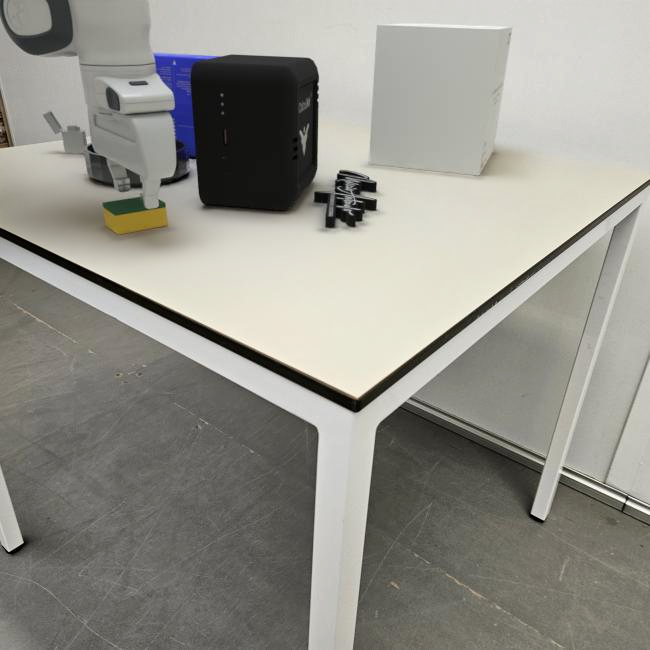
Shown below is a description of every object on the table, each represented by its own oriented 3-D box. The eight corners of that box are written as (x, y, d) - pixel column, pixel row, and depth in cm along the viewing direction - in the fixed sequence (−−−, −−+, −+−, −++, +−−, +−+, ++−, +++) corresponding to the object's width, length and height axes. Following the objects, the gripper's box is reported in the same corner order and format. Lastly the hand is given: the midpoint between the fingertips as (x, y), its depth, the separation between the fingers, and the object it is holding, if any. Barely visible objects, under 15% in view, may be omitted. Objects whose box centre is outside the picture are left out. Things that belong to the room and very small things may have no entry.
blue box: (287, 161, 118) (286, 59, 110) (263, 170, 112) (261, 62, 103) (136, 139, 134) (125, 48, 125) (108, 145, 127) (95, 50, 119)
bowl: (109, 193, 96) (104, 161, 94) (75, 171, 108) (70, 142, 106) (206, 179, 105) (204, 149, 103) (165, 159, 117) (162, 133, 115)
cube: (478, 175, 112) (499, 29, 101) (368, 163, 118) (376, 24, 107) (493, 150, 133) (512, 26, 122) (399, 141, 139) (408, 23, 128)
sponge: (117, 235, 79) (114, 211, 77) (105, 225, 82) (102, 202, 81) (167, 225, 83) (165, 202, 81) (154, 216, 86) (151, 194, 84)
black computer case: (293, 216, 88) (294, 67, 78) (198, 208, 90) (188, 62, 81) (319, 181, 105) (322, 57, 96) (239, 175, 108) (234, 53, 98)
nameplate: (319, 169, 107) (375, 170, 107) (318, 177, 108) (374, 179, 108) (309, 216, 83) (381, 218, 83) (309, 226, 84) (381, 229, 83)
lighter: (88, 151, 122) (82, 110, 118) (86, 153, 120) (79, 111, 116) (52, 151, 121) (44, 110, 117) (49, 153, 119) (41, 111, 116)
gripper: (69, 82, 80) (86, 185, 86) (127, 100, 66) (143, 222, 72) (115, 79, 83) (129, 179, 90) (180, 96, 69) (191, 213, 75)
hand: (136, 198), depth 81 cm, fingers open, 8 cm apart
